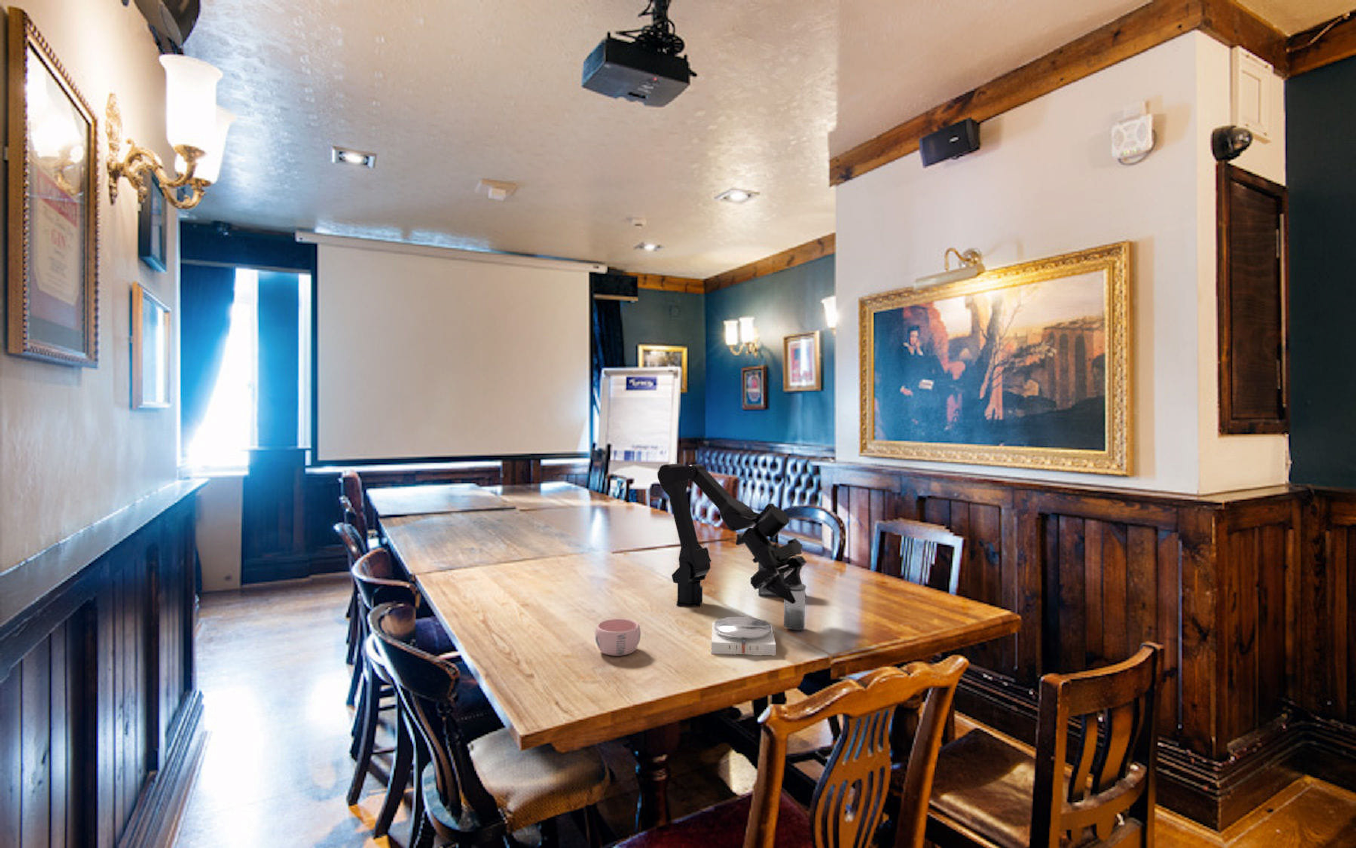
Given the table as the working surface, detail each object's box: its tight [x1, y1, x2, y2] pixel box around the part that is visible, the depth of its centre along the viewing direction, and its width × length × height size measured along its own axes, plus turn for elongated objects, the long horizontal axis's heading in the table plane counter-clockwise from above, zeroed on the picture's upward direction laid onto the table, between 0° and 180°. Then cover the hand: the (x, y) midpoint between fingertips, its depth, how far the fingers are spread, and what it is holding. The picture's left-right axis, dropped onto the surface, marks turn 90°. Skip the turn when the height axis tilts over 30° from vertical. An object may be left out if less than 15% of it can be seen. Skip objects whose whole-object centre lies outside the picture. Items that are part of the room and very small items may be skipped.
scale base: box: [710, 621, 777, 656], centre depth 149 cm, size 14×14×2 cm
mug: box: [594, 618, 641, 657], centre depth 144 cm, size 12×10×6 cm
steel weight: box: [783, 583, 807, 630], centre depth 159 cm, size 5×5×10 cm
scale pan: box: [714, 616, 772, 653], centre depth 148 cm, size 13×14×4 cm
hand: (799, 600), depth 158 cm, fingers closed on steel weight, 5 cm apart
